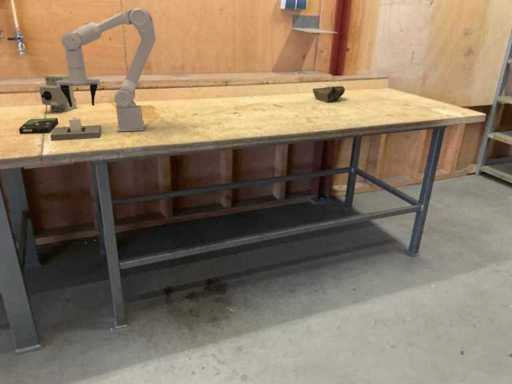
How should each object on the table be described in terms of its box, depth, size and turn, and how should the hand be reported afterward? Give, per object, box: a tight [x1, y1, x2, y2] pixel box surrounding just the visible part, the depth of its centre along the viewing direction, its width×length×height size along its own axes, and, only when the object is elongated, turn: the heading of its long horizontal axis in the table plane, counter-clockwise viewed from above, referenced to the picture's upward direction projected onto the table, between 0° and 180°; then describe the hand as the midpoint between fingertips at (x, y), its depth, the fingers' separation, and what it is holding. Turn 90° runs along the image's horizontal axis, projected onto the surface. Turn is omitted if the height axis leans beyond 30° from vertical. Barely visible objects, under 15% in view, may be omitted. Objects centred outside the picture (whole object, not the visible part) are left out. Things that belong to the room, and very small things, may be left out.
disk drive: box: [18, 117, 59, 135], centre depth 158 cm, size 10×3×15 cm
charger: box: [68, 116, 82, 132], centre depth 150 cm, size 3×3×6 cm
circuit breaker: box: [38, 73, 78, 113], centre depth 182 cm, size 8×14×15 cm, turn 166°
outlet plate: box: [50, 124, 102, 142], centre depth 151 cm, size 16×10×2 cm, turn 106°
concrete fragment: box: [312, 85, 346, 103], centre depth 218 cm, size 15×10×15 cm
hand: (82, 105), depth 155 cm, fingers open, 7 cm apart
